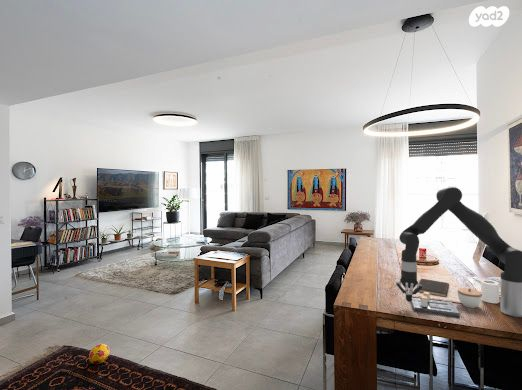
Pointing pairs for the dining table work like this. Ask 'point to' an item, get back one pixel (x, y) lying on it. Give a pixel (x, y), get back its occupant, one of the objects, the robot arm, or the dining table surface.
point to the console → (435, 307)
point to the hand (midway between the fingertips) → (408, 301)
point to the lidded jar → (469, 297)
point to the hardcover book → (434, 287)
